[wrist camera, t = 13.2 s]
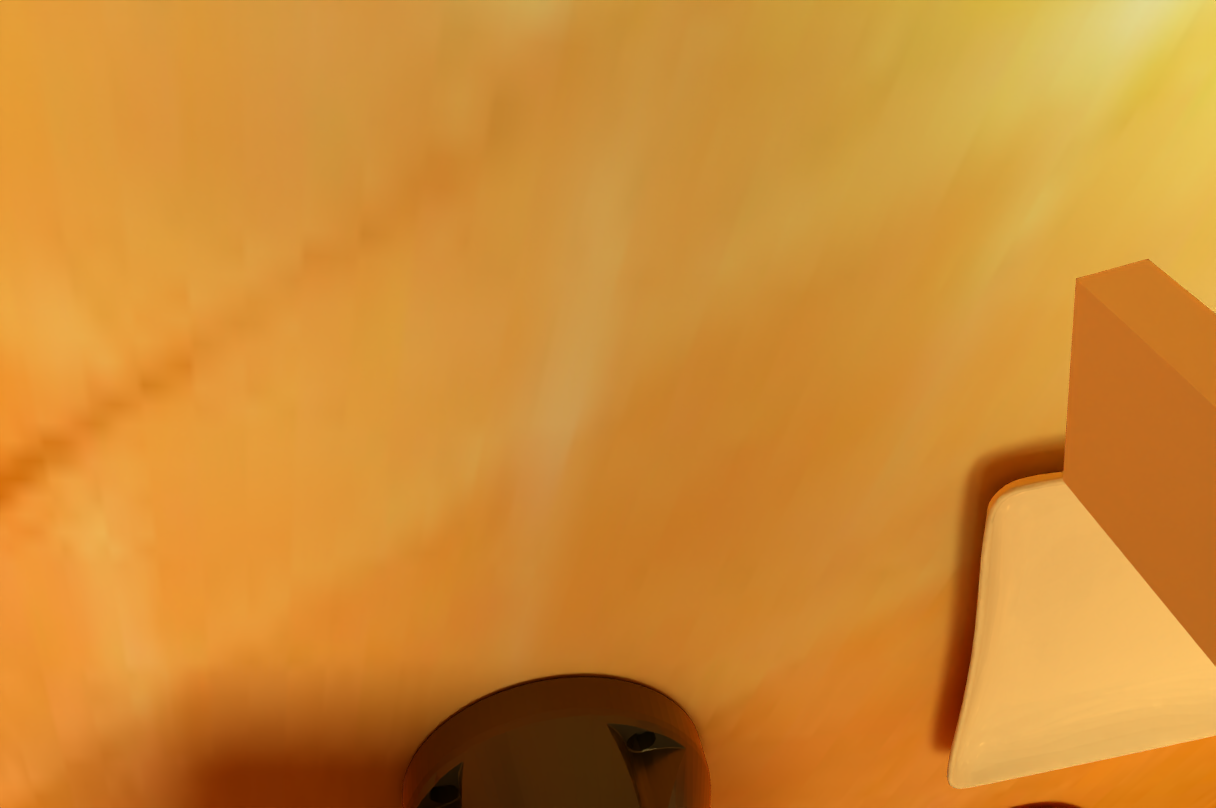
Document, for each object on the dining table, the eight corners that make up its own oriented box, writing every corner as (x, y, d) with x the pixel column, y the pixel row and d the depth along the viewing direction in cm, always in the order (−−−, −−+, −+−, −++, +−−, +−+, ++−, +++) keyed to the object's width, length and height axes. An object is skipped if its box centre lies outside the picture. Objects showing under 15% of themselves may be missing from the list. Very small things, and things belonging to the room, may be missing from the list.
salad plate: (922, 749, 62) (948, 802, 59) (960, 450, 50) (996, 500, 47) (1275, 671, 64) (1317, 719, 62) (1398, 365, 52) (1458, 408, 49)
